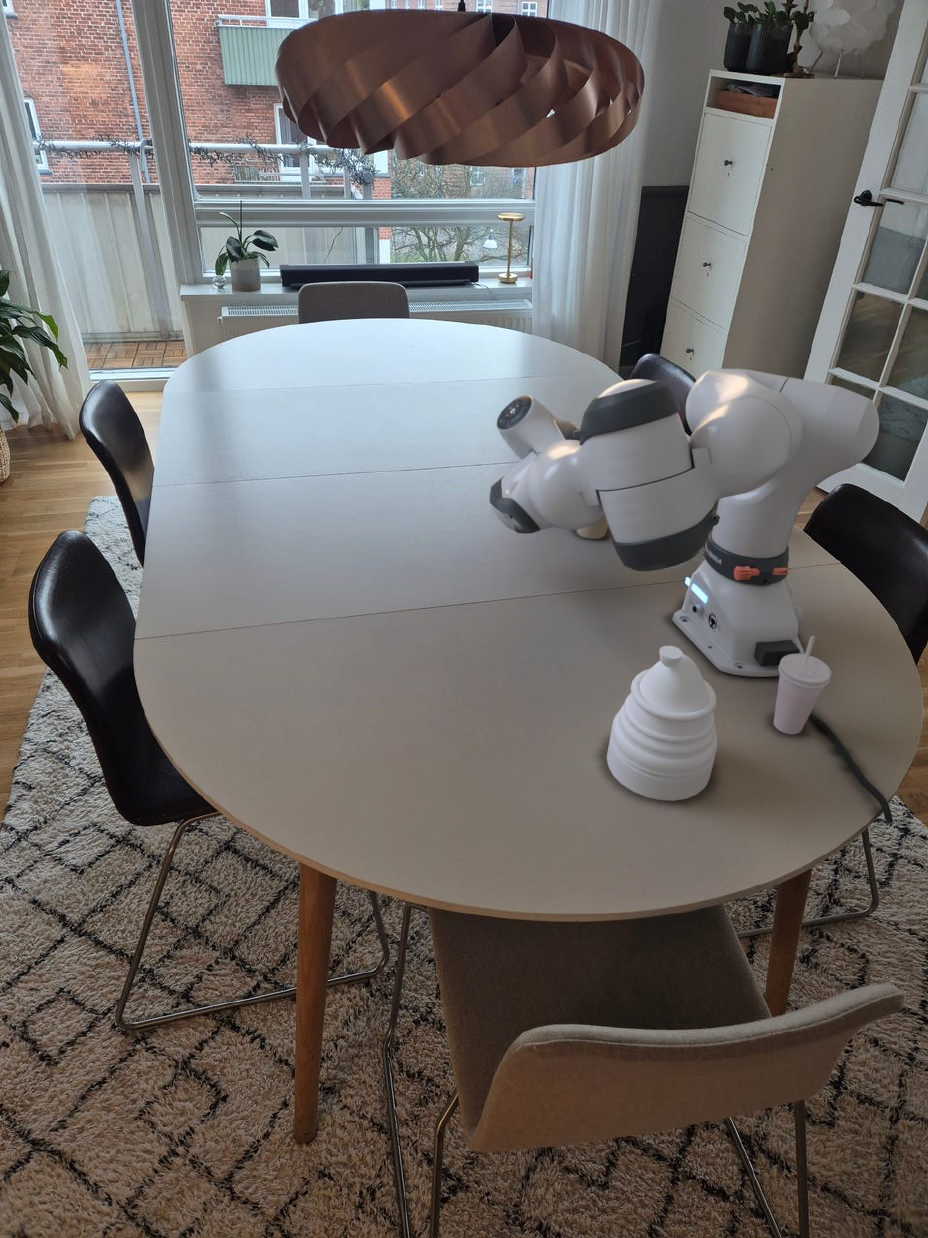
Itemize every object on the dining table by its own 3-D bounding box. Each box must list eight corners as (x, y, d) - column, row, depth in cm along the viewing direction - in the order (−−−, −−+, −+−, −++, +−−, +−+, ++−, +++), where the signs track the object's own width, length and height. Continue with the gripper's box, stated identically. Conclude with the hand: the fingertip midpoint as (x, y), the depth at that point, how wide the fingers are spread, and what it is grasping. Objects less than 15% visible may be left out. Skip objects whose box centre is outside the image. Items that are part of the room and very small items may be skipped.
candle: (570, 528, 163) (576, 479, 158) (595, 523, 165) (602, 475, 160) (586, 541, 159) (592, 491, 154) (611, 536, 161) (618, 486, 156)
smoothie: (802, 710, 119) (829, 625, 112) (820, 741, 114) (849, 654, 106) (756, 710, 119) (780, 625, 111) (772, 741, 114) (798, 654, 106)
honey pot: (660, 816, 102) (687, 694, 92) (585, 754, 110) (603, 637, 100) (731, 773, 108) (764, 656, 98) (656, 718, 117) (678, 605, 107)
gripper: (514, 457, 157) (552, 495, 167) (586, 499, 143) (623, 539, 153) (536, 429, 157) (572, 469, 166) (610, 469, 142) (645, 510, 152)
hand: (597, 503), depth 159 cm, fingers closed on candle, 5 cm apart
